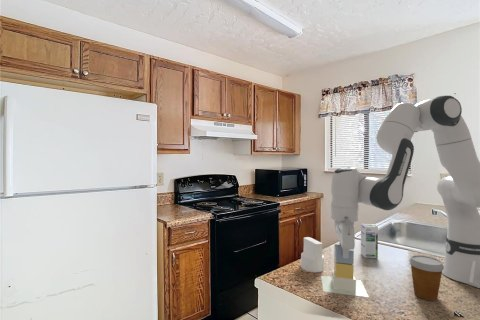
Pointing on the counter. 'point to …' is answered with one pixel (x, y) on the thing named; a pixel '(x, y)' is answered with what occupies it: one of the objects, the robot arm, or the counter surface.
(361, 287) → the plate
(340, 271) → the mustard brick
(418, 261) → the disposable coffee cup
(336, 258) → the slate brick
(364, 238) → the syrup box
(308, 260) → the cylinder with rectangular tab
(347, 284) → the base brick
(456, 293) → the counter surface
